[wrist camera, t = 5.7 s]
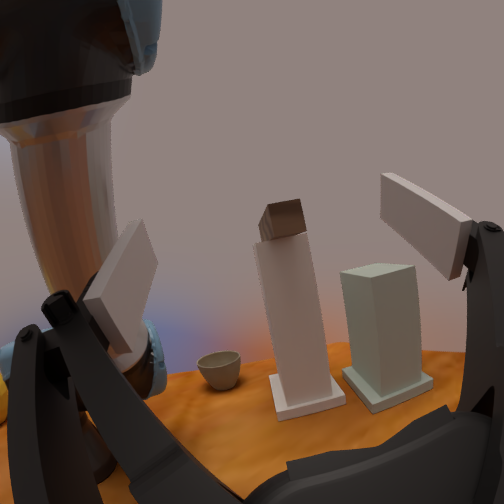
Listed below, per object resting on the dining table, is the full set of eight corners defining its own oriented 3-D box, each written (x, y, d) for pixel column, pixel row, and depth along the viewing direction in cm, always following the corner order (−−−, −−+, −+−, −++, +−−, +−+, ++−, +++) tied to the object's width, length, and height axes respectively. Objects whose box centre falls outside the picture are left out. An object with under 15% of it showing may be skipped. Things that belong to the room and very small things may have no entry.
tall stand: (346, 403, 42) (320, 230, 42) (278, 421, 42) (242, 245, 42) (323, 370, 58) (300, 236, 58) (270, 383, 58) (242, 248, 58)
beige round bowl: (199, 397, 56) (191, 369, 56) (209, 378, 66) (202, 353, 66) (244, 393, 55) (236, 363, 55) (248, 374, 65) (242, 347, 65)
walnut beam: (306, 230, 34) (299, 198, 34) (274, 237, 34) (267, 204, 34) (281, 240, 58) (277, 221, 58) (262, 244, 58) (258, 224, 58)
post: (432, 388, 37) (428, 262, 37) (372, 414, 36) (360, 281, 37) (392, 360, 53) (382, 260, 53) (342, 377, 52) (328, 273, 53)
